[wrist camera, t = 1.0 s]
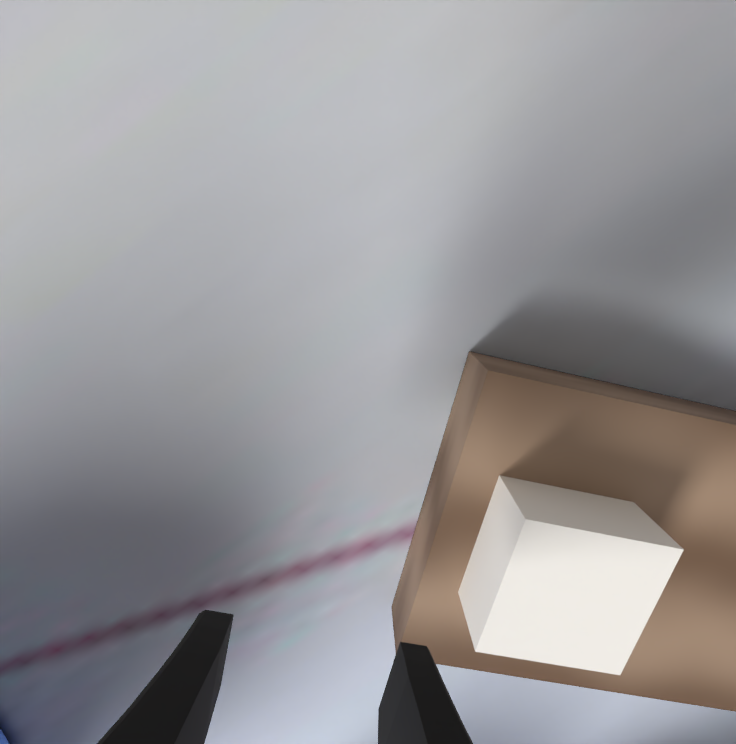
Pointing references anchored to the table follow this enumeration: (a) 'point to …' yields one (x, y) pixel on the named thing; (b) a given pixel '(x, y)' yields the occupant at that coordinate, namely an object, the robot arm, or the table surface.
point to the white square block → (564, 576)
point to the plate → (595, 476)
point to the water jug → (3, 738)
